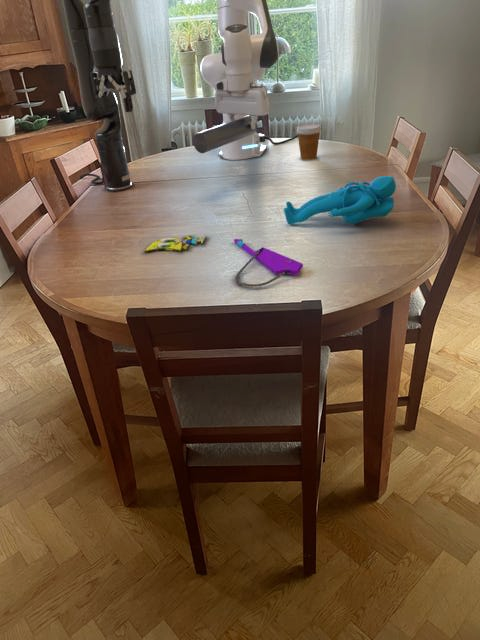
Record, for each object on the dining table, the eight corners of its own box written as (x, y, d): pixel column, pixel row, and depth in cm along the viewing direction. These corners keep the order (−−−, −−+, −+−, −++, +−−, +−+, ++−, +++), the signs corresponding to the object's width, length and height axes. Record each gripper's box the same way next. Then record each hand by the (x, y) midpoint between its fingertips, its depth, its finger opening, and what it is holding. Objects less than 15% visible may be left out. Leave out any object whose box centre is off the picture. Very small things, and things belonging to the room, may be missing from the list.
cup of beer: (293, 160, 191) (293, 129, 184) (300, 154, 198) (300, 123, 192) (317, 161, 188) (317, 129, 181) (323, 154, 195) (323, 123, 188)
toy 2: (287, 190, 142) (392, 164, 131) (296, 223, 147) (398, 200, 137) (279, 211, 128) (395, 184, 118) (289, 247, 133) (402, 223, 123)
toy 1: (199, 248, 125) (143, 249, 127) (199, 251, 125) (144, 252, 127) (206, 233, 133) (154, 234, 135) (206, 236, 133) (154, 237, 136)
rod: (208, 154, 149) (206, 133, 145) (194, 152, 152) (191, 132, 149) (257, 134, 165) (256, 116, 162) (243, 133, 169) (242, 115, 165)
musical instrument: (279, 298, 104) (317, 250, 116) (277, 290, 102) (316, 243, 115) (192, 283, 116) (235, 241, 129) (190, 275, 115) (233, 234, 127)
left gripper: (134, 44, 128) (145, 109, 137) (96, 46, 135) (109, 108, 143) (114, 47, 123) (127, 114, 131) (76, 49, 129) (91, 113, 138)
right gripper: (272, 82, 152) (273, 128, 159) (222, 81, 163) (226, 124, 170) (260, 85, 148) (263, 132, 155) (210, 84, 159) (214, 128, 166)
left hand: (118, 111), depth 137 cm, fingers open, 8 cm apart
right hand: (243, 128), depth 163 cm, fingers closed on rod, 6 cm apart
